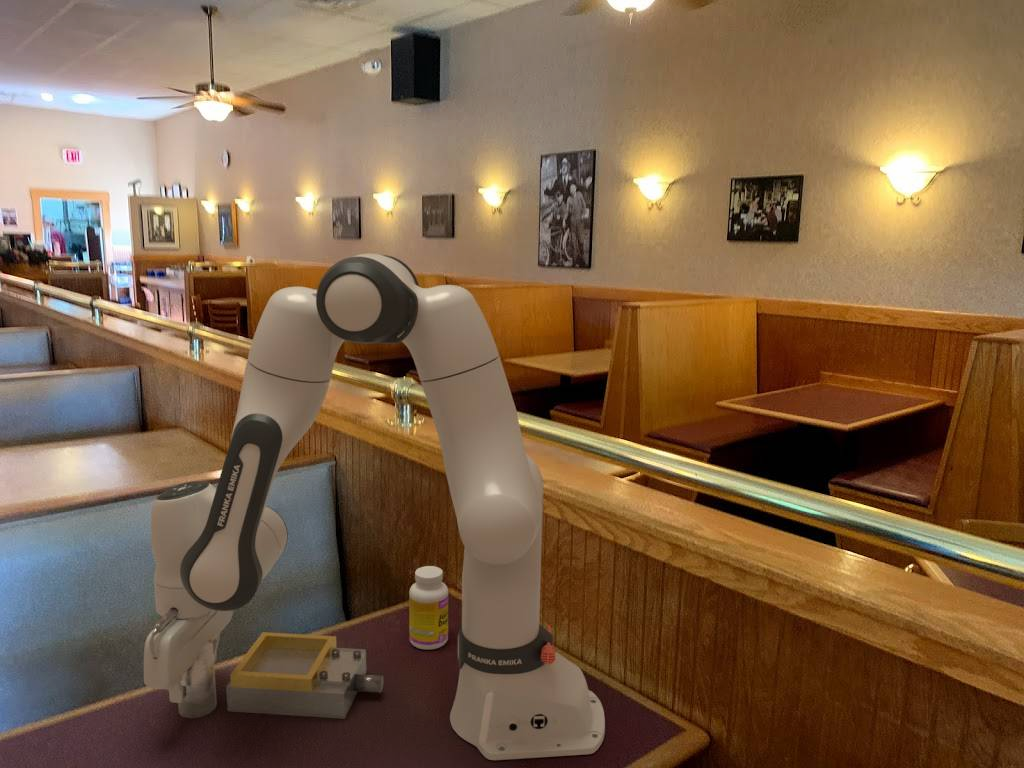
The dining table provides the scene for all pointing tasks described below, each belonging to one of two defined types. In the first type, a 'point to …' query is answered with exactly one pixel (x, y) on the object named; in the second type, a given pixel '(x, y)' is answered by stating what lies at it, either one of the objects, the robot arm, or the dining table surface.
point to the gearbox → (299, 677)
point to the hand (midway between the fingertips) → (194, 680)
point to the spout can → (199, 685)
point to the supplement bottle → (428, 609)
